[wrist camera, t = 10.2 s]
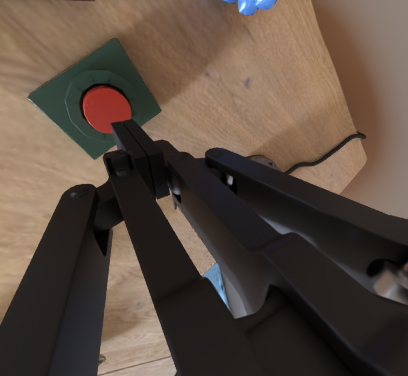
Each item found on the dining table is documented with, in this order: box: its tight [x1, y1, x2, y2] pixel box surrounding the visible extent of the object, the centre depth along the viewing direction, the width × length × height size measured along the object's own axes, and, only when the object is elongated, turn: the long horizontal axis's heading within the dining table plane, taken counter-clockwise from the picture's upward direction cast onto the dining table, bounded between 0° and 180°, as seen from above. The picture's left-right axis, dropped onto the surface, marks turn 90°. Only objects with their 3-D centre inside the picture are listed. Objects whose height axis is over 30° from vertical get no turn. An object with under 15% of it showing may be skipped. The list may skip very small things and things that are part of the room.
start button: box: [83, 86, 131, 133], centre depth 23 cm, size 5×5×2 cm
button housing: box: [27, 38, 162, 160], centre depth 25 cm, size 11×9×4 cm
